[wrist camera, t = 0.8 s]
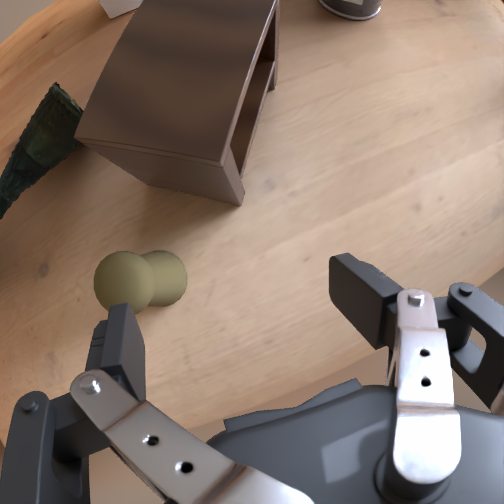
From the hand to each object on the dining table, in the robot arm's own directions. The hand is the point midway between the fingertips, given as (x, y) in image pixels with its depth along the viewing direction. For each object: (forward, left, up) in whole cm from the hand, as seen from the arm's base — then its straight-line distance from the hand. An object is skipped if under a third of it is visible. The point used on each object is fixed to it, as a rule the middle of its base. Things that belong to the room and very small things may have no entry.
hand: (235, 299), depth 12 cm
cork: (+3, -10, -21) cm, 23 cm away
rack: (-15, -9, -21) cm, 27 cm away
